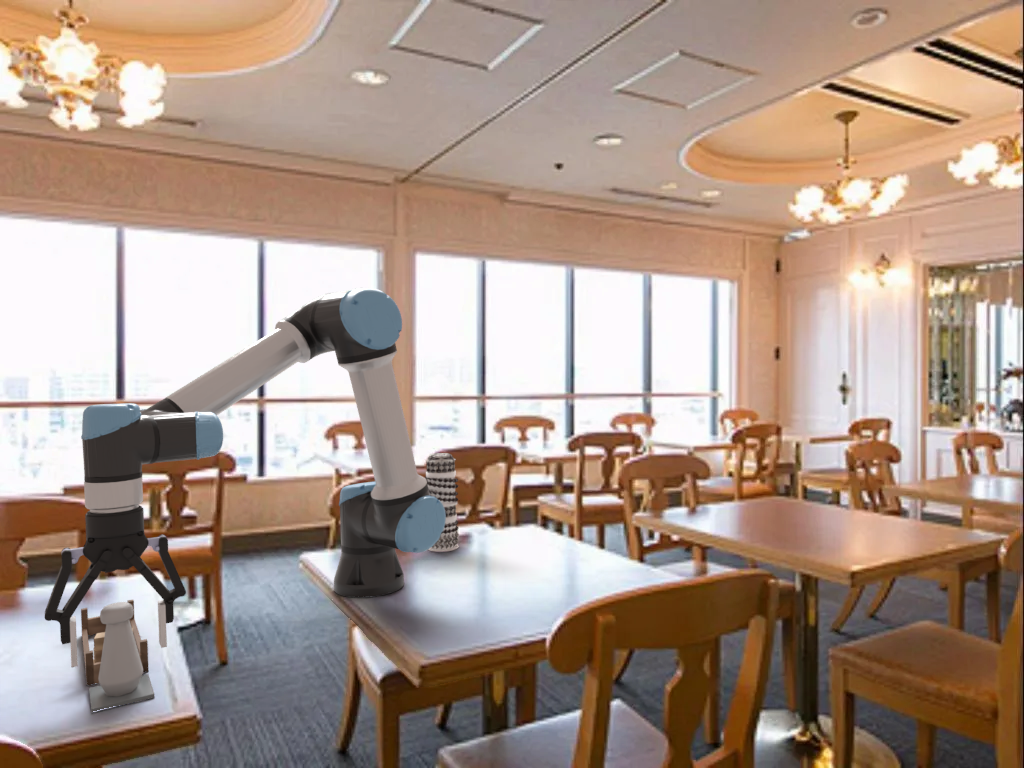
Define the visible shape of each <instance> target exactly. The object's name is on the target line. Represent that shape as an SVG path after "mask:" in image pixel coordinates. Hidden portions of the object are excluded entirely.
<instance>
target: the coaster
mask: <svg viewBox="0 0 1024 768" xmlns="http://www.w3.org/2000/svg"><path fill="white" fill-rule="evenodd" d="M150 678H151V677H150V675H149V673H148V674H142V676H141V679H140V682H139V684H138V687H137V688H136V689H135V690H134V691H132V692H131V693H128V694H125V695H122V696H118V697H115V696H107V695H106V694H105V692H104V690H103V688H102V687H101V685H100V684H99V685H97V686H92V687H89V688H88V692H89V701H90V712H93V711H97V710H100V709H104V708H109V707H113V706H119V705H123V706H125V705H124V704H127V705H129V704H128V703H131V704H134V703H133V702H135V703H139V702H142V701H145V700H146V699H147V700H150V699H155V698H154V697H156V696H155V691H154V687H153V685H152V681H151V679H150ZM138 701H139V702H138ZM119 707H120V706H119Z"/></svg>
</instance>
